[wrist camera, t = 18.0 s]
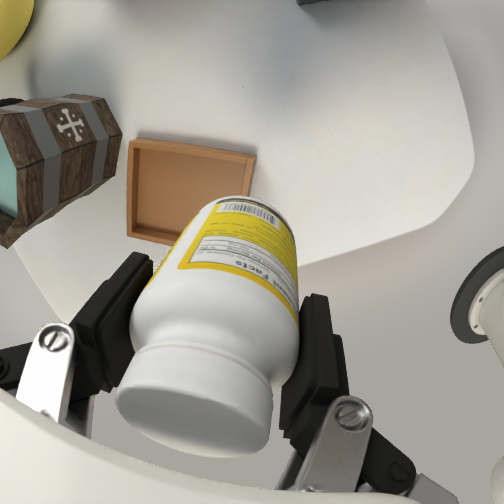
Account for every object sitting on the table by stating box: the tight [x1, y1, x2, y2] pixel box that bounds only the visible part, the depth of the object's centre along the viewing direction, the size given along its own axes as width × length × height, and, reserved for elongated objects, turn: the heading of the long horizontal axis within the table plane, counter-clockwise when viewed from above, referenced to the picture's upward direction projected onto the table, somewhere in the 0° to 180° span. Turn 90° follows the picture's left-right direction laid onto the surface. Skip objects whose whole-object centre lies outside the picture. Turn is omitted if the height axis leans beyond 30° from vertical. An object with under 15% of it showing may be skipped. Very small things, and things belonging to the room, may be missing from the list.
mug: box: [0, 94, 122, 249], centre depth 22 cm, size 20×14×15 cm
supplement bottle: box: [115, 196, 300, 458], centre depth 10 cm, size 5×5×10 cm
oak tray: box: [127, 138, 256, 246], centre depth 31 cm, size 13×11×2 cm
